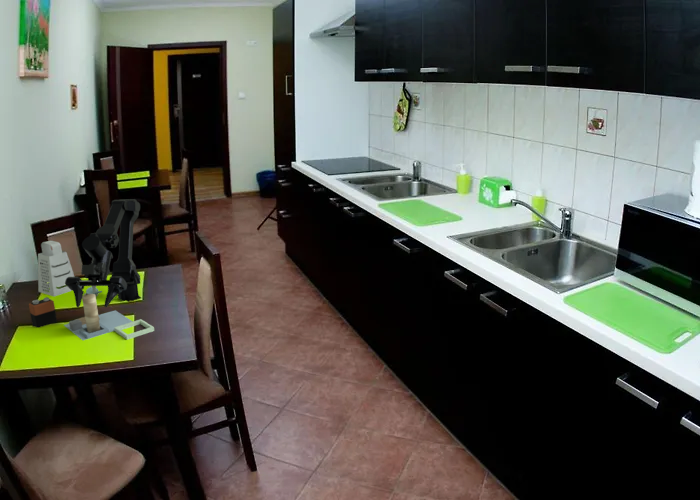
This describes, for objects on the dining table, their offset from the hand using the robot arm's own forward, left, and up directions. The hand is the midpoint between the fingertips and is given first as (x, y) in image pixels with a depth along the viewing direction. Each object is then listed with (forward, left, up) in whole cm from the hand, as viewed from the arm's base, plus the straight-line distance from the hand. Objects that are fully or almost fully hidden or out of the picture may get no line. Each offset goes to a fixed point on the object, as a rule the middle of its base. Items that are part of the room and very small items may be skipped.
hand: (91, 306), depth 193 cm
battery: (+10, -19, -10) cm, 24 cm away
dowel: (+1, +1, -9) cm, 9 cm away
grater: (-6, -53, -10) cm, 55 cm away
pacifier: (-14, -37, -10) cm, 41 cm away
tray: (-9, +9, -10) cm, 16 cm away
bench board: (-3, -4, -10) cm, 11 cm away
